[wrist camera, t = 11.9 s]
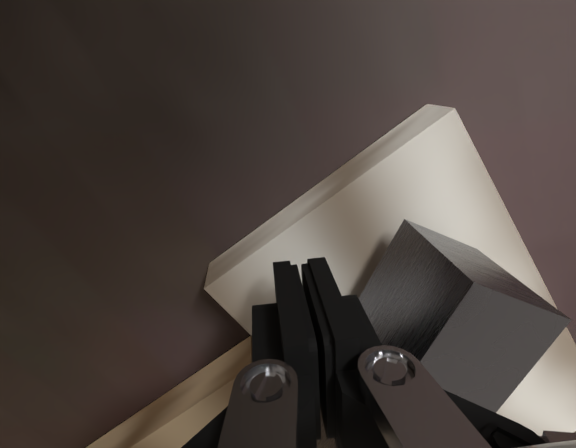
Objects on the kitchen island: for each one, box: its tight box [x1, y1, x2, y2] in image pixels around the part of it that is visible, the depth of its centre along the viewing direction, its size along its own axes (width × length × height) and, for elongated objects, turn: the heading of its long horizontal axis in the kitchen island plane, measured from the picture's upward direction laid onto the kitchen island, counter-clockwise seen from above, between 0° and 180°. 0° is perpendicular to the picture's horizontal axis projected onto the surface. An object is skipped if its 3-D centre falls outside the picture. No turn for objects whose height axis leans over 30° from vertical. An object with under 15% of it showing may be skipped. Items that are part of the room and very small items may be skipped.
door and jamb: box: [86, 104, 576, 448], centre depth 17 cm, size 26×18×2 cm
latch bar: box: [316, 219, 571, 448], centre depth 13 cm, size 14×3×5 cm, turn 156°
